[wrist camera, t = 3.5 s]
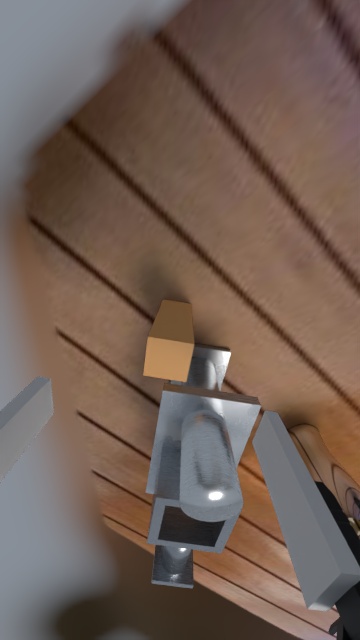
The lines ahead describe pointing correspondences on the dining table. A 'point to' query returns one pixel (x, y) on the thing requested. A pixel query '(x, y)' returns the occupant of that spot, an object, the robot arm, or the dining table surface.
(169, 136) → the dining table surface
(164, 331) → the tan wooden block
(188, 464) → the metal pedestal stand
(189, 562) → the bracket
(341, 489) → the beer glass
